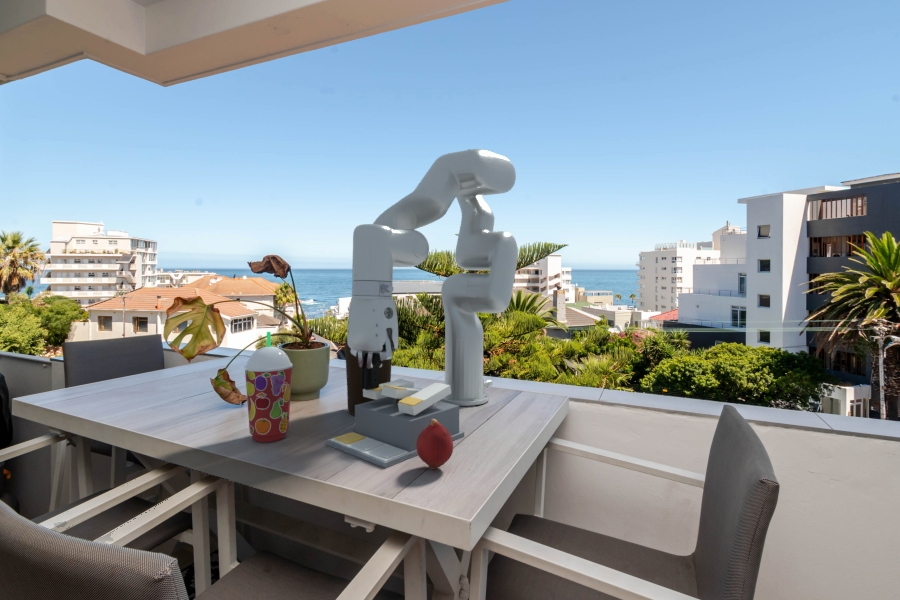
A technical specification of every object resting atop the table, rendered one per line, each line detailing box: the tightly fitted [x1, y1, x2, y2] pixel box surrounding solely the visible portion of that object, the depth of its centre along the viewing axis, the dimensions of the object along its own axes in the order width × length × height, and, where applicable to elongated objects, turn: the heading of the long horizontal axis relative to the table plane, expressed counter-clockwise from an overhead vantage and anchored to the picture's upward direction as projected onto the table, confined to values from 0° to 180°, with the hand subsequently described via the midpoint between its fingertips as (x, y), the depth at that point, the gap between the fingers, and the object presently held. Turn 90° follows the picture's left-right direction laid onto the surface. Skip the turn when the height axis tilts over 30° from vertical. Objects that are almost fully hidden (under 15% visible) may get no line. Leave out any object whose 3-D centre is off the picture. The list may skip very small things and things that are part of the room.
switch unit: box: [325, 397, 465, 469], centre depth 85 cm, size 20×16×7 cm
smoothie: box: [244, 331, 293, 443], centre depth 86 cm, size 8×8×20 cm
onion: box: [416, 419, 454, 470], centre depth 72 cm, size 6×6×8 cm
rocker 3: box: [398, 381, 451, 416], centre depth 84 cm, size 10×4×3 cm, turn 140°
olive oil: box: [344, 337, 393, 416], centre depth 104 cm, size 11×11×25 cm
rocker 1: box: [363, 378, 415, 400], centre depth 90 cm, size 10×4×3 cm, turn 140°
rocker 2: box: [381, 385, 423, 401], centre depth 87 cm, size 10×4×3 cm, turn 140°
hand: (369, 388), depth 86 cm, fingers closed
